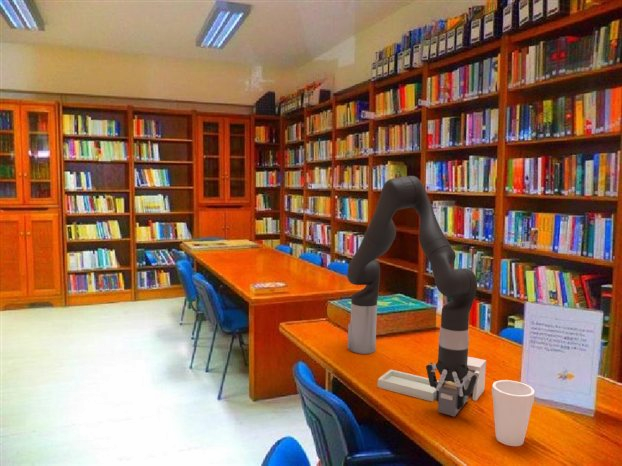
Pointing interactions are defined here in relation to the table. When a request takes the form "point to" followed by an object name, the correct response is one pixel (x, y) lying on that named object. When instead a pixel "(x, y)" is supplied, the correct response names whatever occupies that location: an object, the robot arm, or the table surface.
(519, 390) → the foam cup
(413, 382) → the tray
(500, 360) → the table surface
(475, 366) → the bay
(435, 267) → the robot arm
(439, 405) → the grey rectangular block
